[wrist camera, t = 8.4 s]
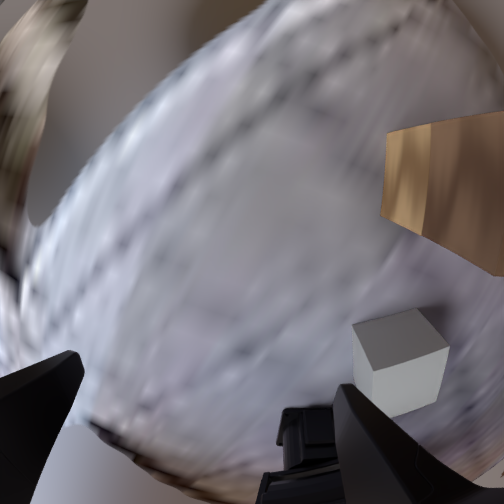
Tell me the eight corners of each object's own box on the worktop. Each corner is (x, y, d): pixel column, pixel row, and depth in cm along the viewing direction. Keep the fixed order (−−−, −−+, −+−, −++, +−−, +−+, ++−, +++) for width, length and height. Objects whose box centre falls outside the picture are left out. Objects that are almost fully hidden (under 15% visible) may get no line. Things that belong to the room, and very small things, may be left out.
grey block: (410, 360, 22) (435, 401, 16) (353, 376, 23) (369, 424, 17) (415, 307, 21) (449, 346, 15) (351, 324, 21) (373, 371, 15)
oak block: (443, 224, 18) (490, 244, 13) (380, 215, 19) (420, 235, 13) (450, 149, 17) (500, 150, 11) (386, 133, 17) (430, 123, 11)
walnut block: (490, 244, 13) (555, 277, 7) (421, 235, 13) (493, 276, 7) (500, 149, 11) (571, 155, 5) (430, 122, 11) (509, 110, 5)
